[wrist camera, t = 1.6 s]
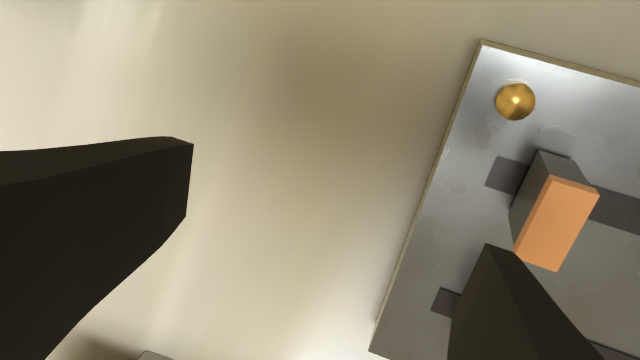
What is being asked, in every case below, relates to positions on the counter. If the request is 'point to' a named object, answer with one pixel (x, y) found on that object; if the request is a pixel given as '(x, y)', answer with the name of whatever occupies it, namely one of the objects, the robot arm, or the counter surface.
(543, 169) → the tagged lever
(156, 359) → the circuit breaker
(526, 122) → the panel
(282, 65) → the counter surface
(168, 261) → the counter surface
